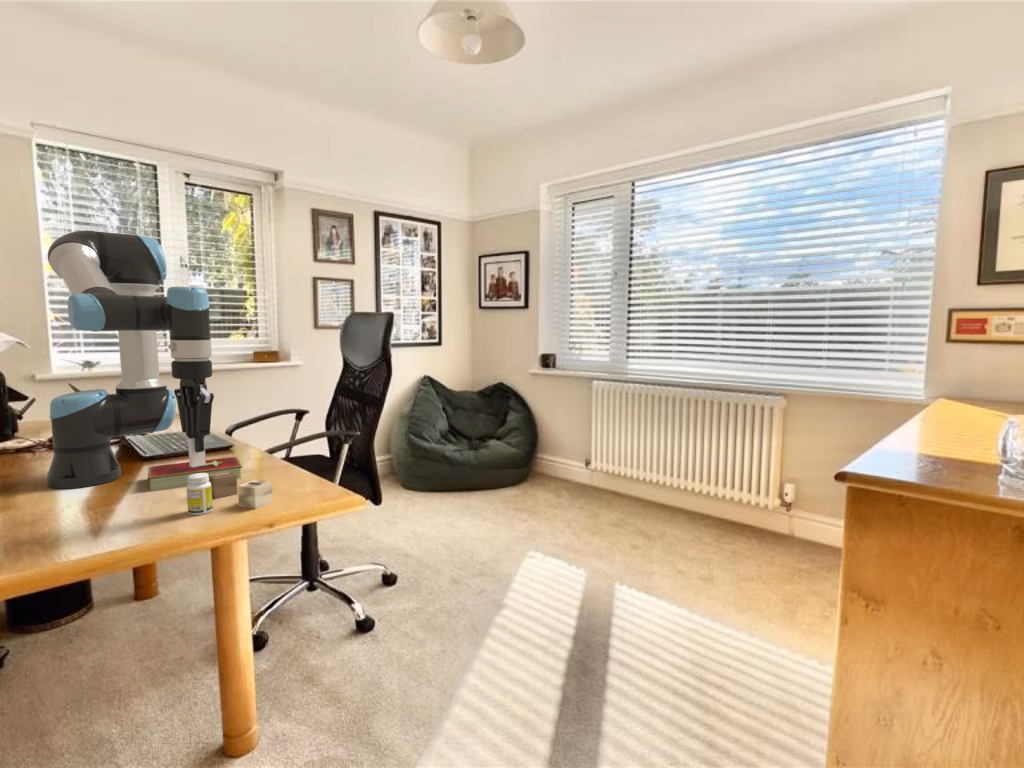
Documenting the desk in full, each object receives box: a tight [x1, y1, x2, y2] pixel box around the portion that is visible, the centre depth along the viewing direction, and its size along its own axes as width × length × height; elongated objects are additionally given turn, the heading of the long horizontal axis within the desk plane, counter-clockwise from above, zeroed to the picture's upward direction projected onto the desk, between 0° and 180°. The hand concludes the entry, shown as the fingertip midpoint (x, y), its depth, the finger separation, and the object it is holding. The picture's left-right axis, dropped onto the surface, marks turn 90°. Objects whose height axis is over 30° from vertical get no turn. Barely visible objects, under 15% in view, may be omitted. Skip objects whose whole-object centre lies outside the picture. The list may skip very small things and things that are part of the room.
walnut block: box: [208, 471, 238, 500], centre depth 129 cm, size 5×5×5 cm
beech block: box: [237, 479, 273, 510], centre depth 123 cm, size 5×5×5 cm
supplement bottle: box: [186, 473, 213, 516], centre depth 117 cm, size 5×5×8 cm
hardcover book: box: [147, 456, 243, 492], centre depth 141 cm, size 12×21×4 cm, turn 124°
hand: (197, 465), depth 117 cm, fingers closed
